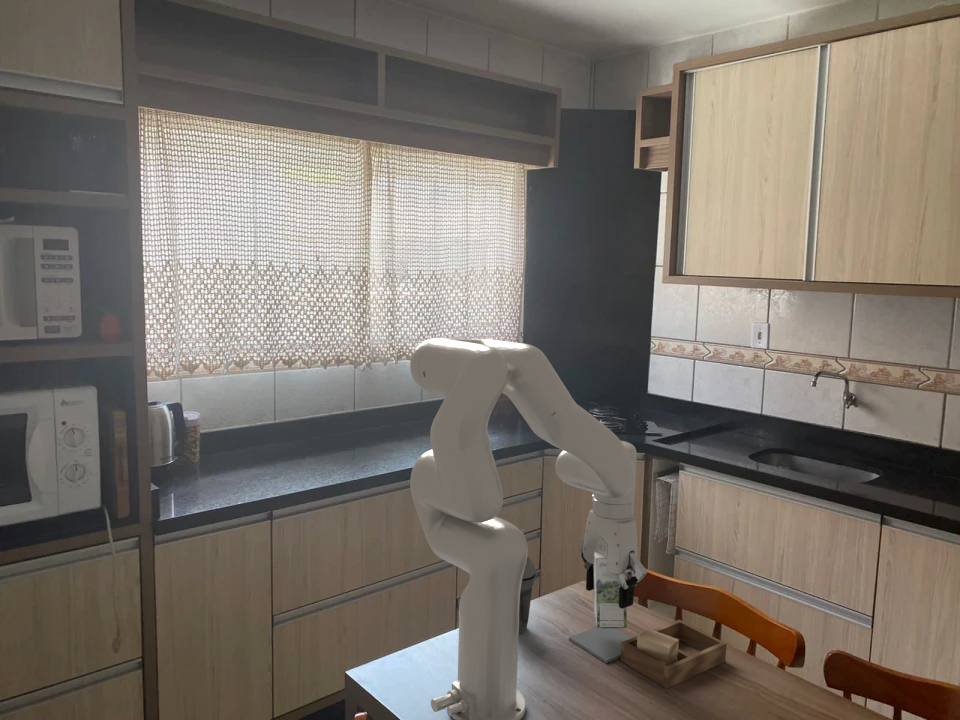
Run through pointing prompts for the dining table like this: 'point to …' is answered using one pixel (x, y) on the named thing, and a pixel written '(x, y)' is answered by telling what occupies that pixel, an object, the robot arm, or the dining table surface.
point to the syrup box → (607, 596)
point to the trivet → (601, 642)
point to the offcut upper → (658, 645)
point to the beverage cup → (526, 594)
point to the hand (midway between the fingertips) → (609, 596)
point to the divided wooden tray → (686, 665)
